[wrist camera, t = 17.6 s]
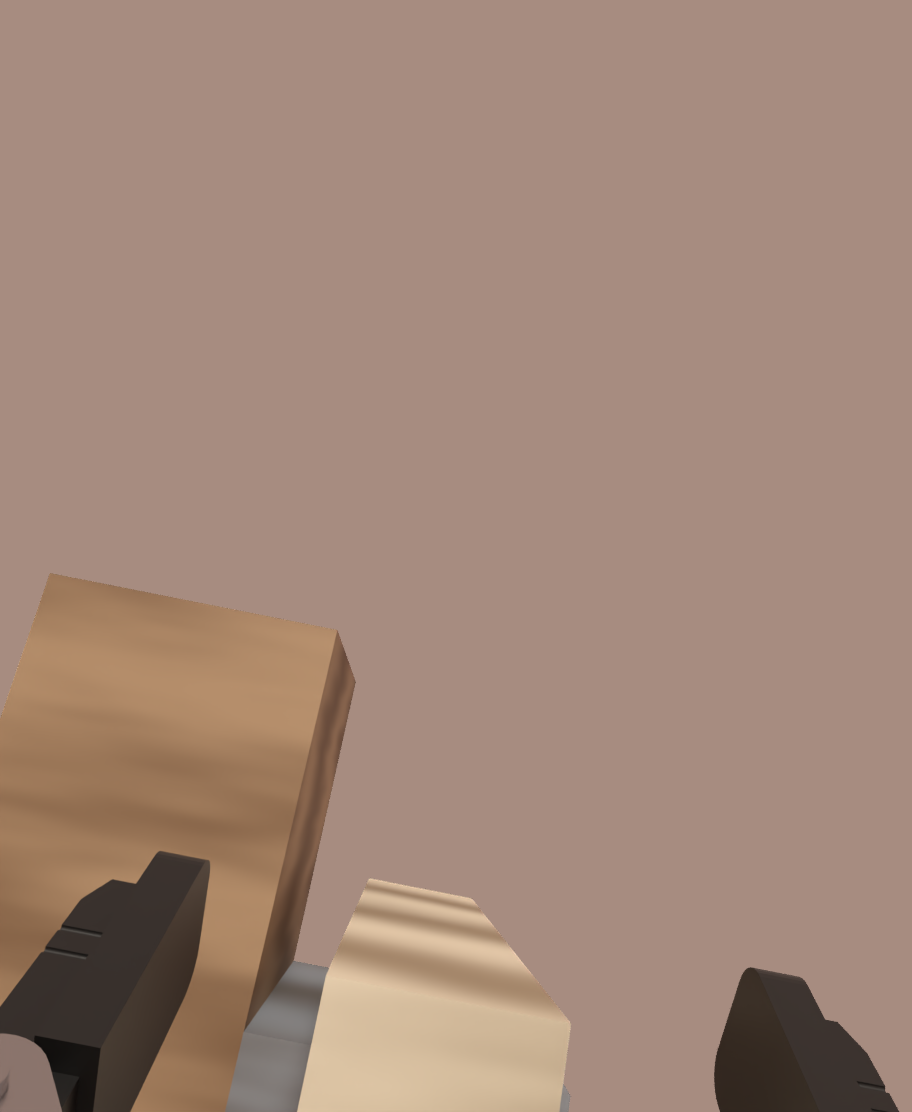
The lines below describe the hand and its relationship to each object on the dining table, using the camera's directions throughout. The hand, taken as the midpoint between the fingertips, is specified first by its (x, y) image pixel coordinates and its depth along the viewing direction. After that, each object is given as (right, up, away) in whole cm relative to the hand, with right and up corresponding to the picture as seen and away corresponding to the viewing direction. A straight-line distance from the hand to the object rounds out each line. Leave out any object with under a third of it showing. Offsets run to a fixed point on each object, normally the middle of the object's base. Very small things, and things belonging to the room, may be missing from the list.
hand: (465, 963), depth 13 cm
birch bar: (-1, -7, +10) cm, 12 cm away
